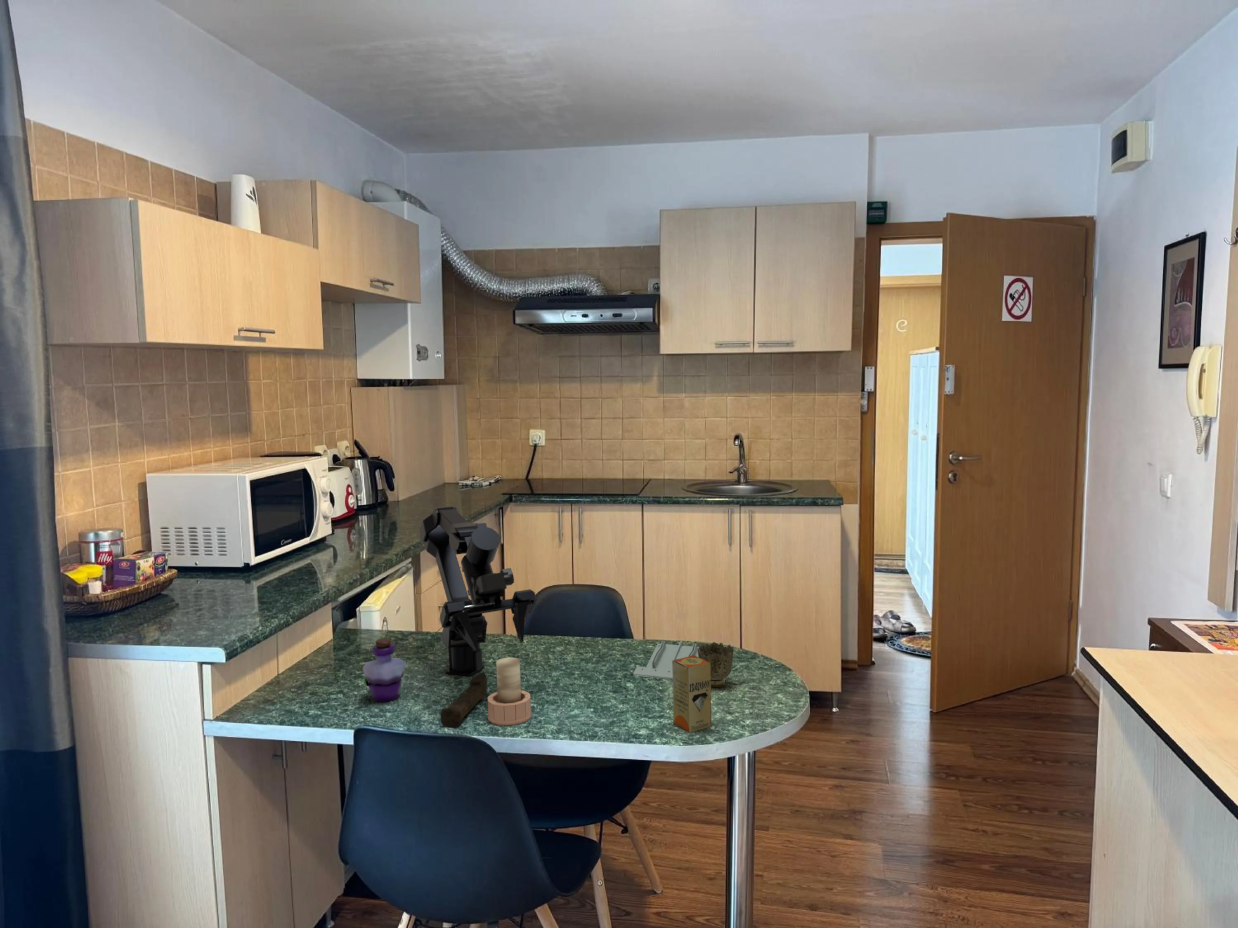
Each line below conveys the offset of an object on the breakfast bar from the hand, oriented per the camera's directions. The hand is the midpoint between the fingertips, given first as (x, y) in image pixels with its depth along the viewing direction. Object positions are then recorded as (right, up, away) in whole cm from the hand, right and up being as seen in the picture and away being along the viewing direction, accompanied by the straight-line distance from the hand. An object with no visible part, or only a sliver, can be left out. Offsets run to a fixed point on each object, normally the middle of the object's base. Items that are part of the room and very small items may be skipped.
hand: (499, 645), depth 164 cm
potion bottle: (-24, -13, +8) cm, 29 cm away
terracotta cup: (+2, -13, -3) cm, 13 cm away
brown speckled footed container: (+43, -11, +11) cm, 46 cm away
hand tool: (-7, -13, +2) cm, 15 cm away
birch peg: (+2, -12, -3) cm, 13 cm away
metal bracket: (+35, -10, +21) cm, 43 cm away
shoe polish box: (+37, -13, -9) cm, 40 cm away
